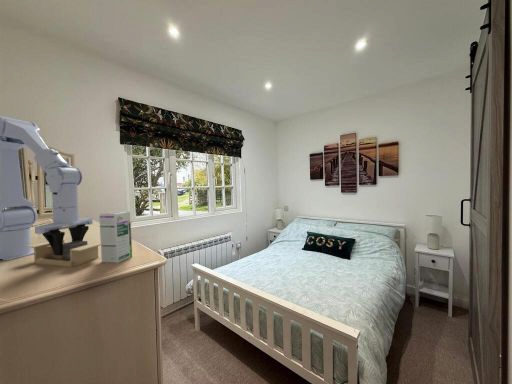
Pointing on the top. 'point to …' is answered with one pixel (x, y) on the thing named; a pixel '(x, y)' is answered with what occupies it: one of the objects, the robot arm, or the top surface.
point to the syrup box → (115, 236)
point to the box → (64, 250)
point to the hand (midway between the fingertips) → (67, 252)
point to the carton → (76, 254)
